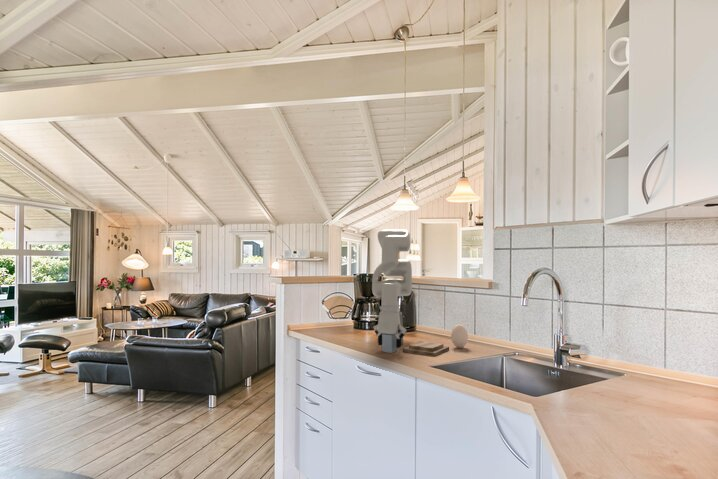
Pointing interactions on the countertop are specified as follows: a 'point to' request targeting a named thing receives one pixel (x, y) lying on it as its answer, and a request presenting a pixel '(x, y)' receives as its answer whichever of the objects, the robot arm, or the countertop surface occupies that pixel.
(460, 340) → the egg
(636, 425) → the countertop surface
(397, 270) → the robot arm
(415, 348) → the pedestal
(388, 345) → the slate block
